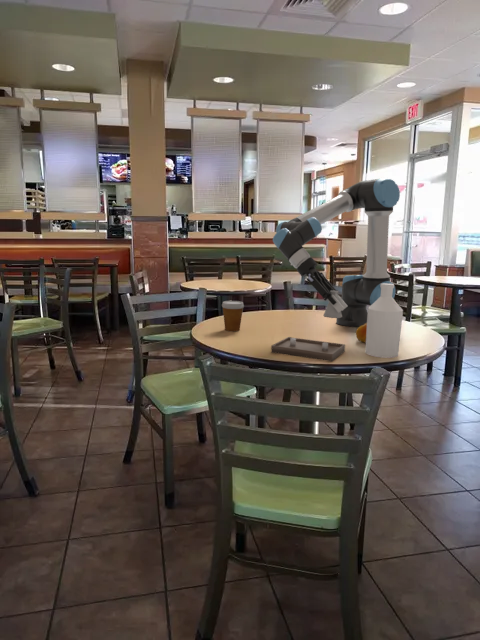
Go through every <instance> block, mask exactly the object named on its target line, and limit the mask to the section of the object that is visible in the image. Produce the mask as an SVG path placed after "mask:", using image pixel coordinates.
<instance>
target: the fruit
mask: <svg viewBox="0 0 480 640" xmlns="http://www.w3.org/2000/svg"><path fill="white" fill-rule="evenodd" d="M366 331H367V323H365V324H364V325H362V326H360V327H357V329H356V330H355V336H356V338H357V340H358V341H359V342H361V343H364V344H366Z"/></svg>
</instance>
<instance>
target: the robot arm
mask: <svg viewBox="0 0 480 640" xmlns="http://www.w3.org/2000/svg"><path fill="white" fill-rule="evenodd" d="M400 193H401V192H400V188H399V185H398V183H396V182H395V180H394V179H392V178H388V177H387V178H385V177H383V178H382V177H381V178H376V179H370V180H369V179H368V180H362V181H359V182H356V183H355V184H352V185H351V186H349V187H347V188H345V189H343V190H342V191H340V192H339V193H338V195H336V196H335V197H333V198H331V199H329V200H327V201H326V202H324V203H321V204H320V205H318V206H316V207H314V208H312V209H310V210H308V211H306V212H304V213H302V214H301V215H298V216H297V217H294V218H292V219H291V220H288V221H283V222H280V223H278V225H277V226H276V229H275V230H276V231H275V234H274V236H273V238H272V243H273V244H274V245H275V247H276V248H277V250H279V252H281V254H282V255H283V256H284V258H286V259H287V260H288V262H289V263H290V266H293V268H294V269H296V272H298V274H299V275H300V276H301V277H306V276H307V278H306V281H307V282H308V283H310V284H311V286H312V287H313V288H314V289H315V290H316V291H317V293H318V294H319V295H320V296H321V298H323V300H324V301H328V303H329V302H330V303H331V305H332V306H333V307H334V308H335V309H336V310H337V312H338V313H339V312H340V311H341V314H342V317H341V318H335V319H336V321H335V322H336V324H337V325H340V326H345V327H355V328H359V327H360V326H362V325H364V324H365V323H367V314H368V306H371V305H372V304H373V303H374V302H375V301H376V300H377V299H378V298H379V297H380V296H381V287H380V285H381V283H389V284H394V283H393V282H391V275H390V274H389V273H388V251H389V250H388V249H389V247H388V246H389V227H390V226H389V225H390V222H389V221H390V220H389V219H390V215H391V214H392V213H394V207H395V206H396V205H397V204H398V202H399V200H400V196H401V195H400ZM358 209H359V210H360V209H364V213H365V214H366V216H367V238H366V239H367V240H366V241H367V243H366V268H365V269H366V271H365V273H364V274H357V275H356V274H355V275H345V276H344V277H343V279H342V283H341V296H340V295H339V294H338V300H337V299H336V297H335V296H334V295H332V294H331V292H330V291H331V290H335V291H339V290H338V289H336V288H335V287H334V286H333V284H332V283H331V282H330V281H329V279H328V278H327V277H326V276H325V274H324V273H323V272H320V271H319V270H317V269H316V268H317V266H318V262H316V261H315V259H314V258H313V257H311V255H310V253H309V252H308V251H307V249H305V247H304V245H306V244H307V243H309V242H310V241H312V240H313V239H315V238H316V237H318V235H320V234H321V233H322V231H323V229H322V224H324V223H327V222H328V221H330V220H332V219H334V218H336V217H337V216H340V215H341V214H343V213H345V212H346V213H350V212H352V211H355V210H358ZM331 295H332V296H331ZM395 295H396V286H395V285H394V288H393V293H392V298H393V299H394V300H395Z"/></svg>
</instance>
